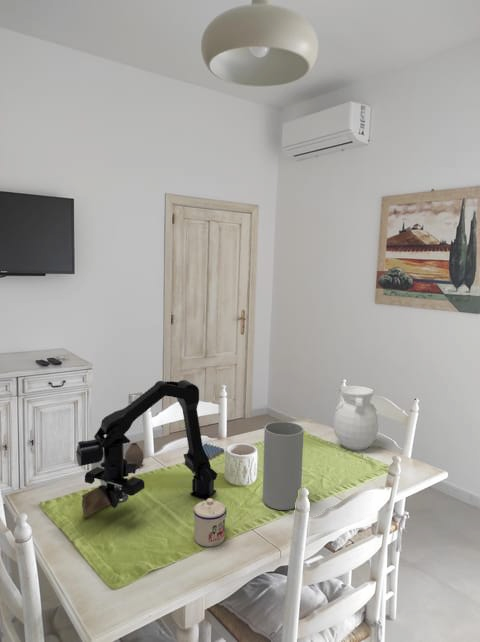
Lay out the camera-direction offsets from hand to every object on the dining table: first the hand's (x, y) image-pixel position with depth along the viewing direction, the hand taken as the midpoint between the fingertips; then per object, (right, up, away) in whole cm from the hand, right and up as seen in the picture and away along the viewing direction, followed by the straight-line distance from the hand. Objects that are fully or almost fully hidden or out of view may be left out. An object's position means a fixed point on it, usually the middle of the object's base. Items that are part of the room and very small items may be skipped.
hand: (114, 507), depth 146 cm
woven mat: (+25, +2, +50) cm, 56 cm away
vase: (-2, +1, +37) cm, 37 cm away
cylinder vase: (+52, -3, +13) cm, 53 cm away
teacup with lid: (+30, -5, -8) cm, 32 cm away
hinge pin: (-1, -2, +12) cm, 12 cm away
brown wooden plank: (-6, -2, +5) cm, 8 cm away
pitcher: (+87, +3, +60) cm, 106 cm away
